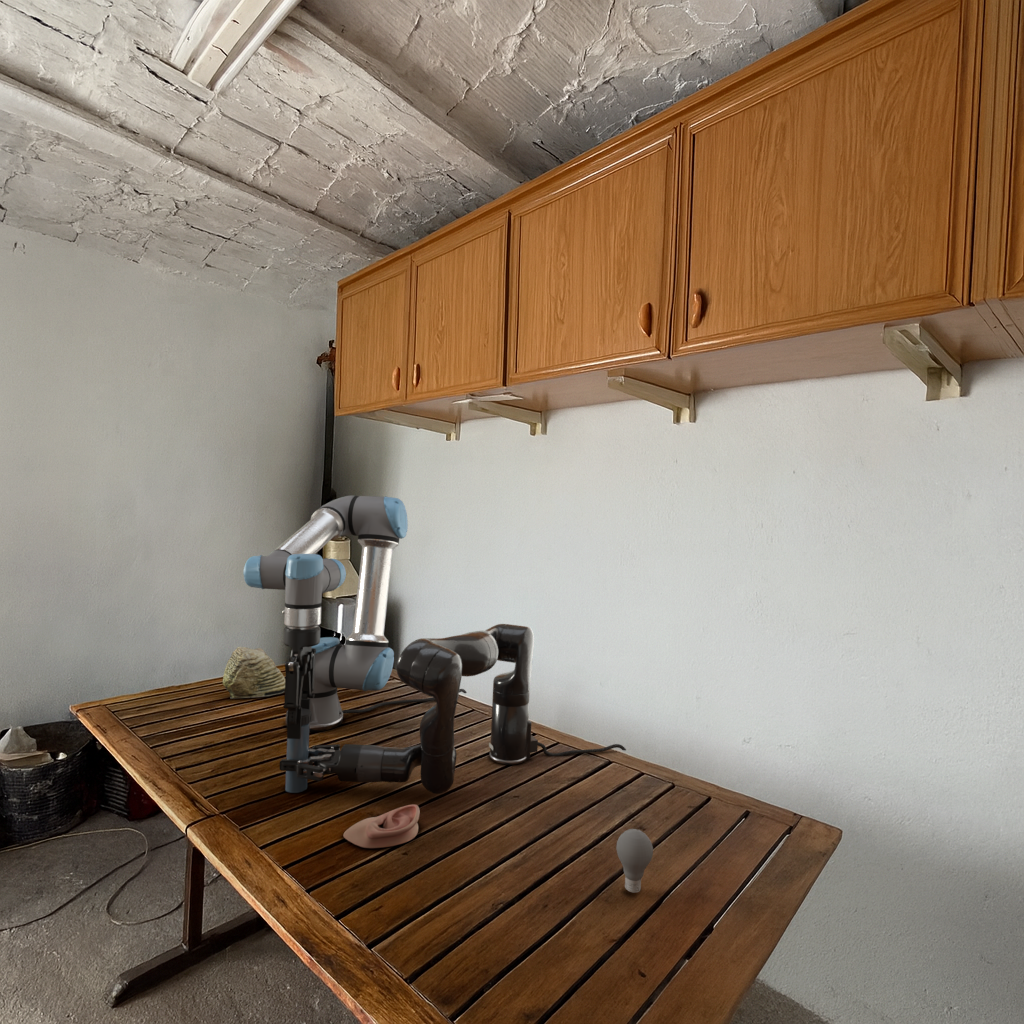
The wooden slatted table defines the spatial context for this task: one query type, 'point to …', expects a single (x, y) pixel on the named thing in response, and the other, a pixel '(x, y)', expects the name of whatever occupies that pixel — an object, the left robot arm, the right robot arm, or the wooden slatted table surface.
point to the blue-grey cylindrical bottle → (297, 751)
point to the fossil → (252, 674)
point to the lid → (304, 716)
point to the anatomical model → (385, 828)
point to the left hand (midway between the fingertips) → (298, 732)
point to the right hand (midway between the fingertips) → (285, 759)
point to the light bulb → (634, 857)
